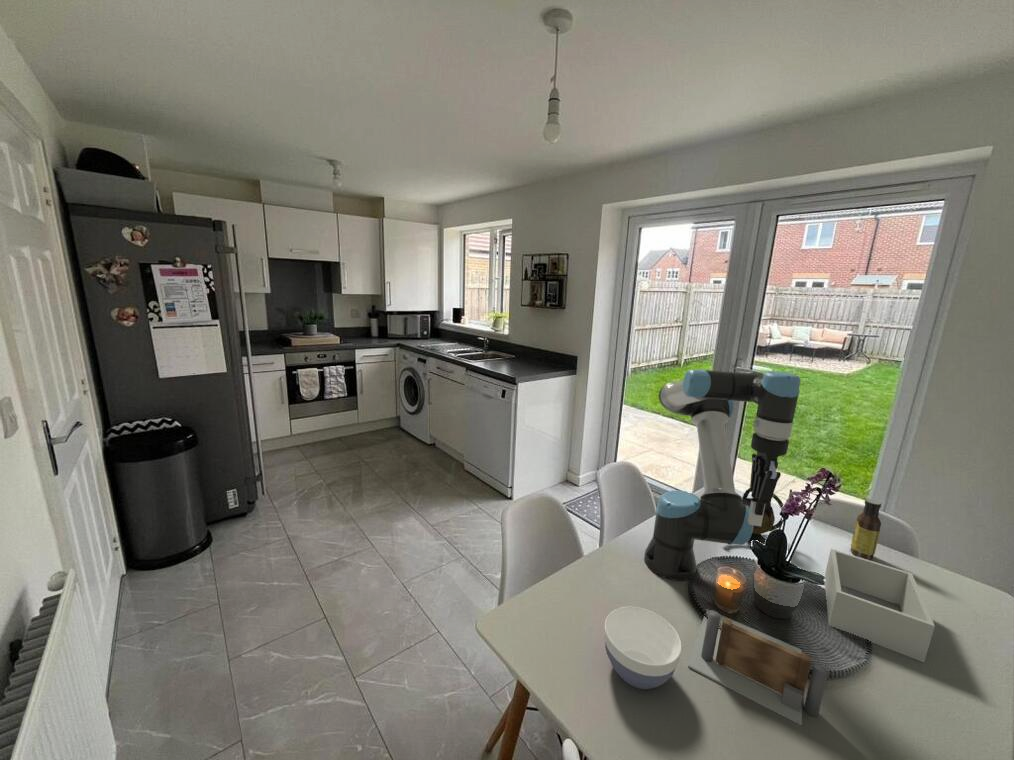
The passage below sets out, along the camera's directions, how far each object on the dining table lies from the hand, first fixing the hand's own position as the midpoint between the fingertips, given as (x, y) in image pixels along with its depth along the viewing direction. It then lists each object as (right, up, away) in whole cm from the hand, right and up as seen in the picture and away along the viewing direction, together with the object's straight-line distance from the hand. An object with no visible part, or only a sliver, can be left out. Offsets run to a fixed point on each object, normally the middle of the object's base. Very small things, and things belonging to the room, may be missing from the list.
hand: (754, 523), depth 104 cm
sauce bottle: (+58, -23, +36) cm, 72 cm away
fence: (-6, -29, -10) cm, 31 cm away
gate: (-9, -28, -15) cm, 33 cm away
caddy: (+35, -27, +8) cm, 45 cm away
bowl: (-34, -28, -13) cm, 46 cm away
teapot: (+21, -20, +42) cm, 51 cm away
